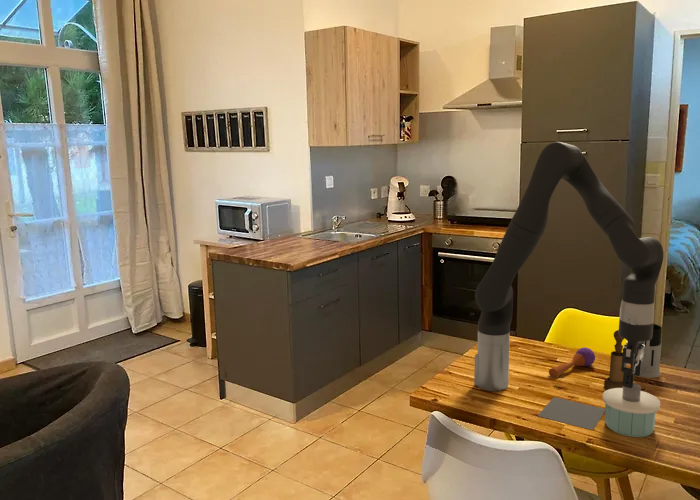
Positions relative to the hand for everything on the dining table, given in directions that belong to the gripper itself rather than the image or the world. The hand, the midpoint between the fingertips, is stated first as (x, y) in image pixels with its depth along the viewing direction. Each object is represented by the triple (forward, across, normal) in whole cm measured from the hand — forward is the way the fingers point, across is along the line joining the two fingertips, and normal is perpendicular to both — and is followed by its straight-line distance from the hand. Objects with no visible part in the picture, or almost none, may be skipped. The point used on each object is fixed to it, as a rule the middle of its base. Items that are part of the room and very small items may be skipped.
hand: (631, 381), depth 144 cm
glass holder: (+13, -39, -3) cm, 41 cm away
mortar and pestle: (+13, -23, -8) cm, 28 cm away
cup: (+13, 0, 0) cm, 13 cm away
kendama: (+13, -31, -23) cm, 41 cm away
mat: (+13, 0, -14) cm, 19 cm away
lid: (+6, 0, 0) cm, 6 cm away
